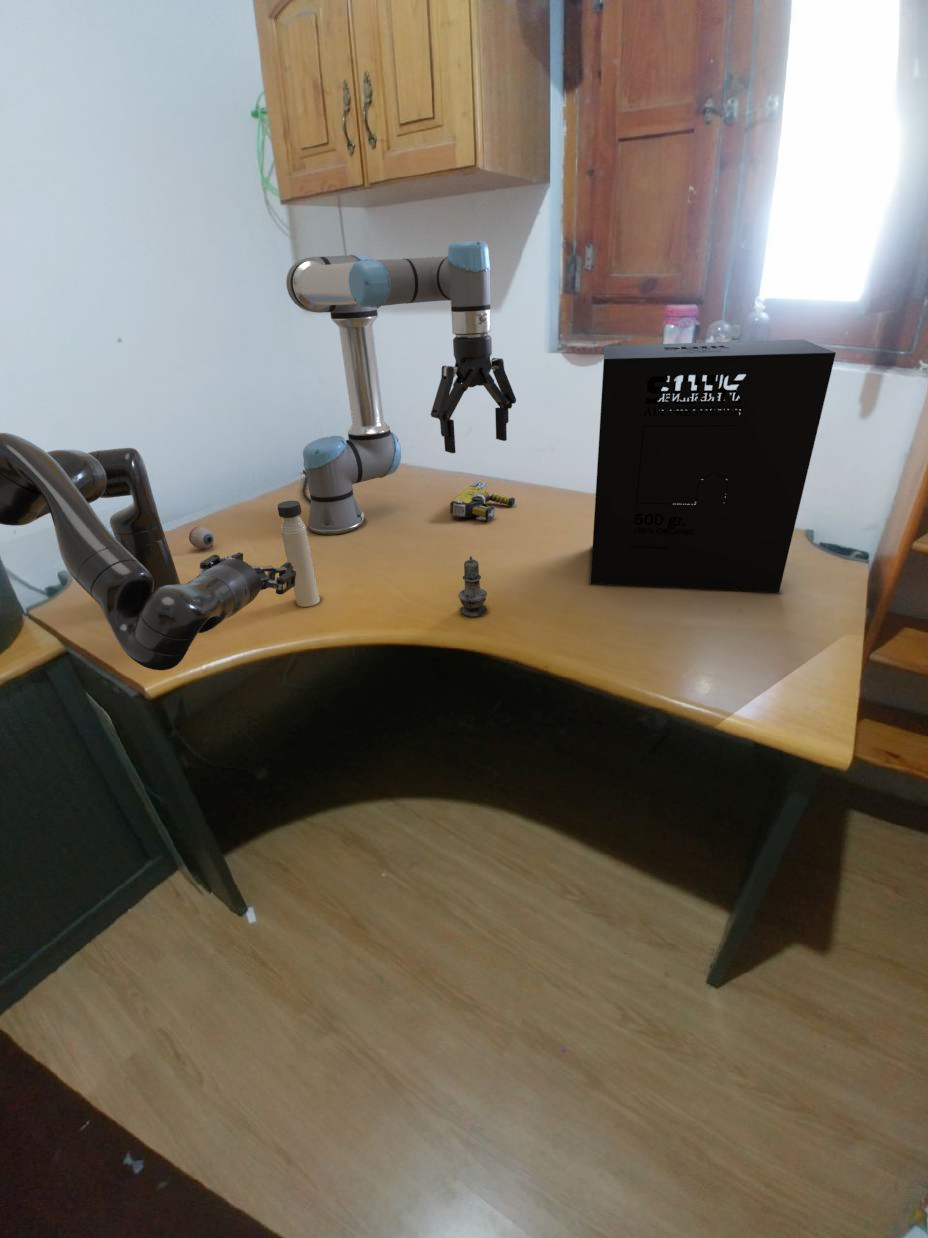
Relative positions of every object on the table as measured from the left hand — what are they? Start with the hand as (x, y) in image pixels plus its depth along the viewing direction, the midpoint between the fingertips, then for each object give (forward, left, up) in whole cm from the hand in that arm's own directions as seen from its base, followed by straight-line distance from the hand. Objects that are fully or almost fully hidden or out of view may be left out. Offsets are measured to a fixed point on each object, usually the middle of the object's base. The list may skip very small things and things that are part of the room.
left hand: (265, 563), depth 105 cm
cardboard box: (+78, +37, -18) cm, 88 cm away
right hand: (+34, +37, +10) cm, 51 cm away
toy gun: (+31, +77, -18) cm, 85 cm away
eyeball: (-41, +46, -18) cm, 64 cm away
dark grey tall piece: (+34, +16, -18) cm, 42 cm away
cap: (-2, +18, +4) cm, 19 cm away
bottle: (-2, +18, -18) cm, 26 cm away
